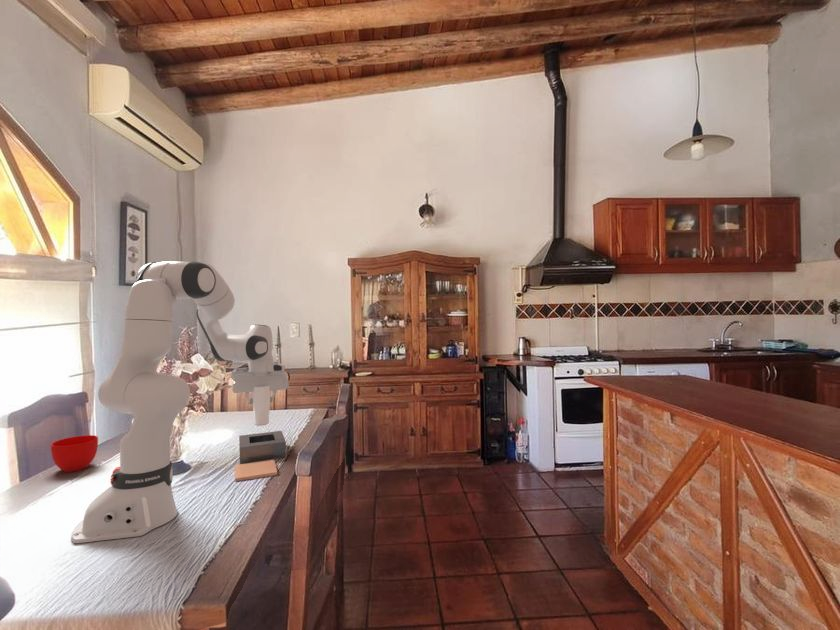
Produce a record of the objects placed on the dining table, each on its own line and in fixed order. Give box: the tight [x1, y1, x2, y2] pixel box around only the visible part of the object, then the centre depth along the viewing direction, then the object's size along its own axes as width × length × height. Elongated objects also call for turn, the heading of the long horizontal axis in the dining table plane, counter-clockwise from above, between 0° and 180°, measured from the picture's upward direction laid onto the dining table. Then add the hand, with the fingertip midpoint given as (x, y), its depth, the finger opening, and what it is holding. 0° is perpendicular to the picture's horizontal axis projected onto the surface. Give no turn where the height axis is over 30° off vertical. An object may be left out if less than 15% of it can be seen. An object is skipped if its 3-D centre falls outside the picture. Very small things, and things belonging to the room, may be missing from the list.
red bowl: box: [50, 434, 99, 473], centre depth 152 cm, size 13×17×10 cm
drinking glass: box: [251, 386, 272, 427], centre depth 163 cm, size 7×7×15 cm
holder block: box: [238, 430, 287, 465], centre depth 163 cm, size 16×16×6 cm
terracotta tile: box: [234, 459, 278, 482], centre depth 145 cm, size 13×13×1 cm
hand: (261, 402), depth 163 cm, fingers closed on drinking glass, 6 cm apart
